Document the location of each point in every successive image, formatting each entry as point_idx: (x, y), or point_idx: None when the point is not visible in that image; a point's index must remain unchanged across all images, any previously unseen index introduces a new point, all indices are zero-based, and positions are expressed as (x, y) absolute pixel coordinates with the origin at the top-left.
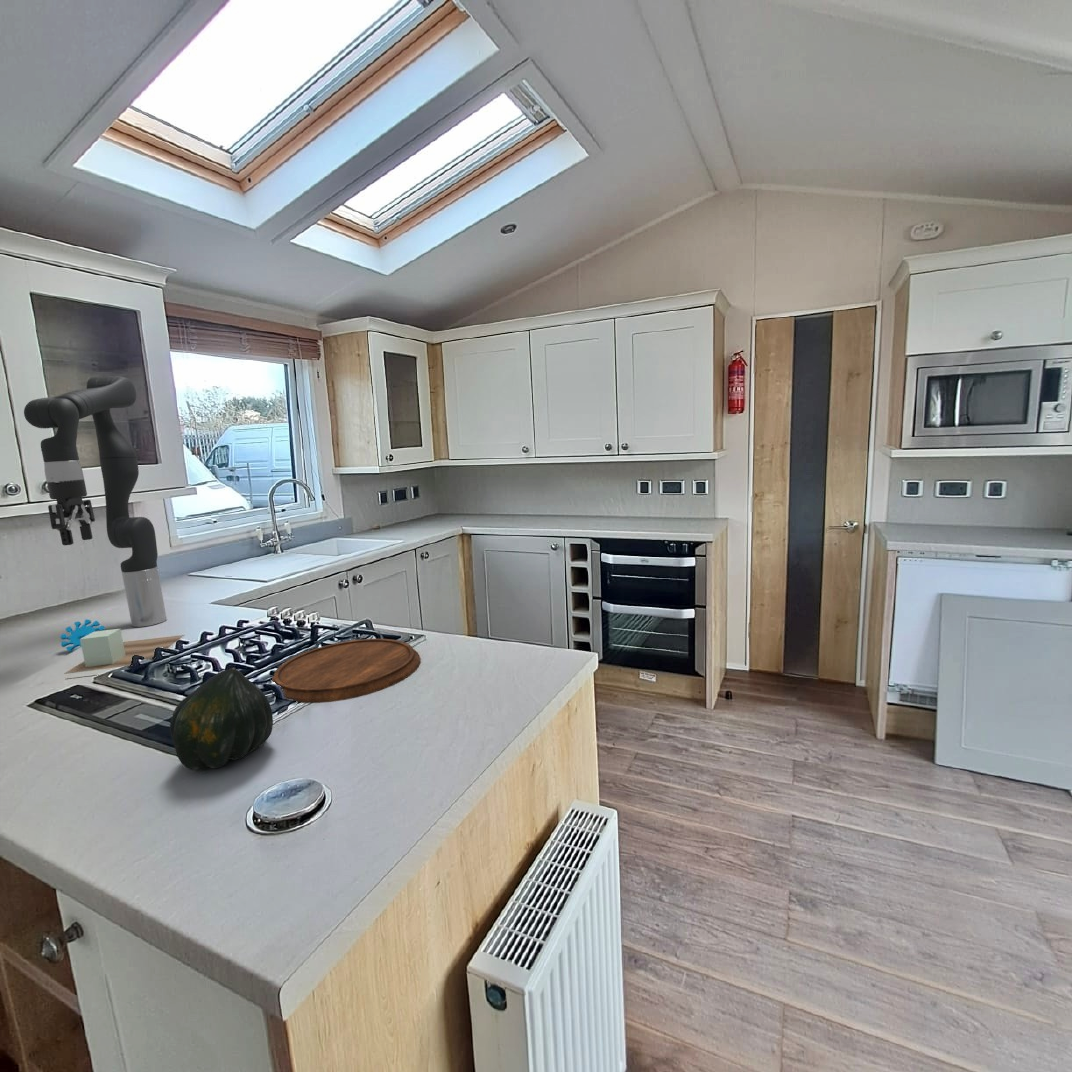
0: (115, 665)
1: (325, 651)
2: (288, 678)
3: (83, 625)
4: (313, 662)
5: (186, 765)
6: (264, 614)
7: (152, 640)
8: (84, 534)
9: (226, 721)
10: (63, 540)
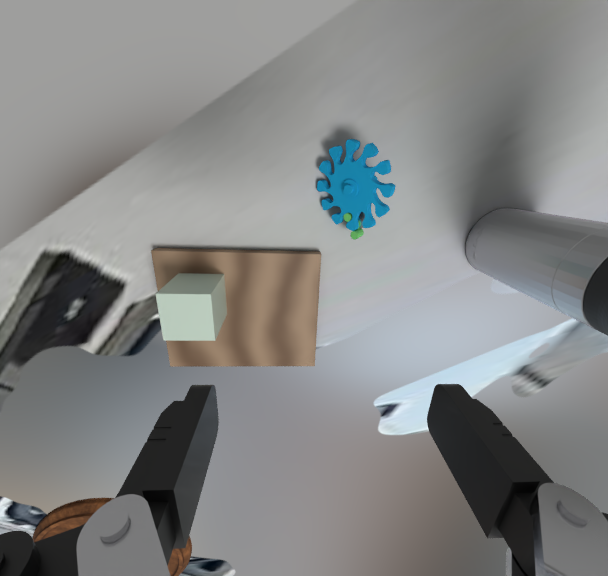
0: None
1: None
2: (72, 526)
3: (374, 184)
4: None
5: None
6: (411, 429)
7: (304, 323)
8: (453, 428)
9: None
10: (161, 428)
